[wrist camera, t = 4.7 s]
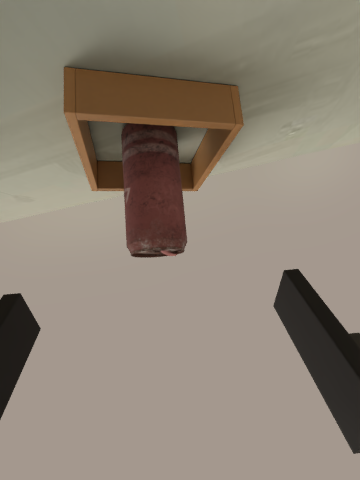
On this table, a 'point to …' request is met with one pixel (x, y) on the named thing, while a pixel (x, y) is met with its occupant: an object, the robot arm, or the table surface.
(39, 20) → the table surface
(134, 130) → the can
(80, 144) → the wooden square frame
